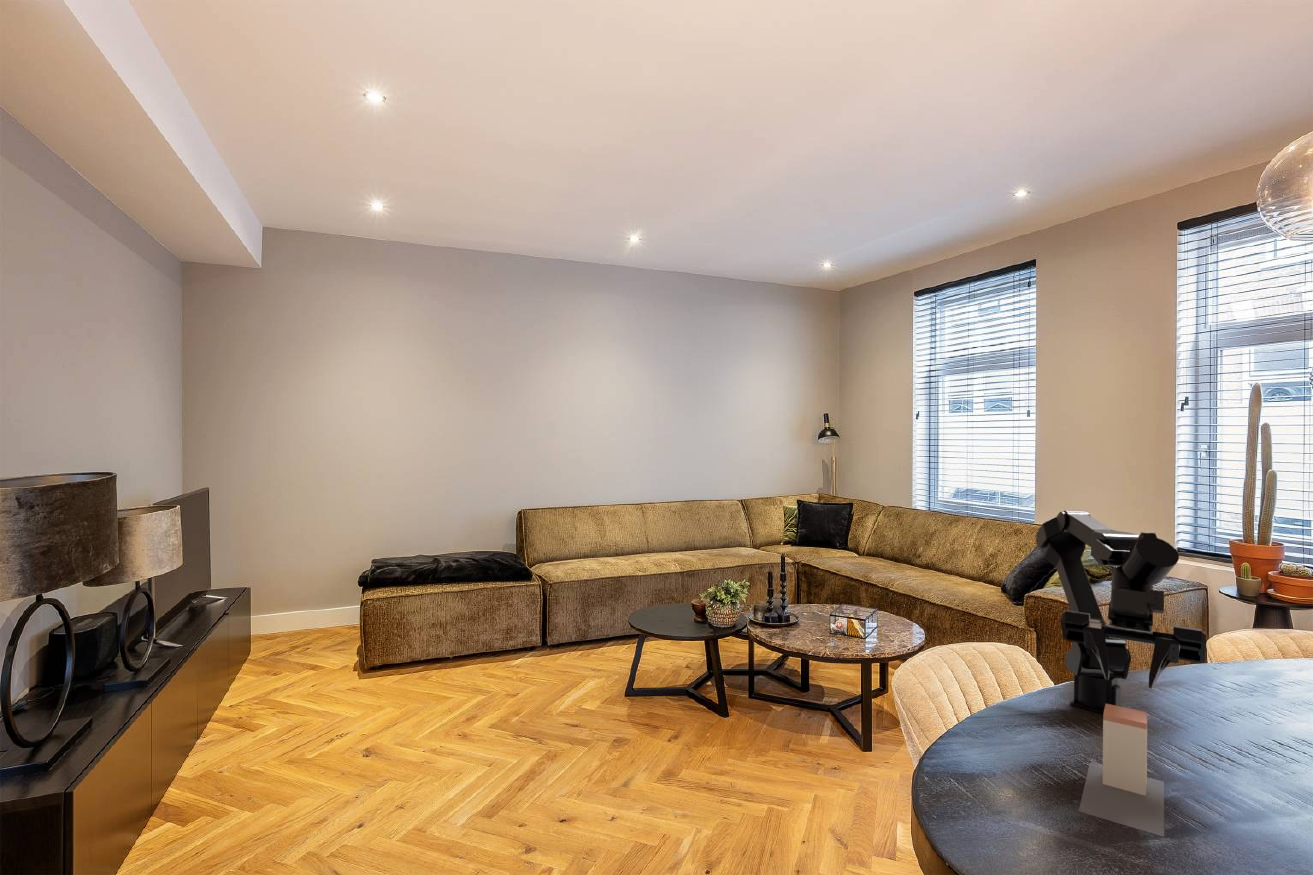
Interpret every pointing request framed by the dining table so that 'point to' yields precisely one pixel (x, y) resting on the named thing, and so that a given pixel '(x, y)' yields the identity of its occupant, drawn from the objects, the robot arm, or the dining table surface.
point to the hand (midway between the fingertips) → (1128, 682)
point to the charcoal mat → (1124, 803)
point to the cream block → (1125, 748)
